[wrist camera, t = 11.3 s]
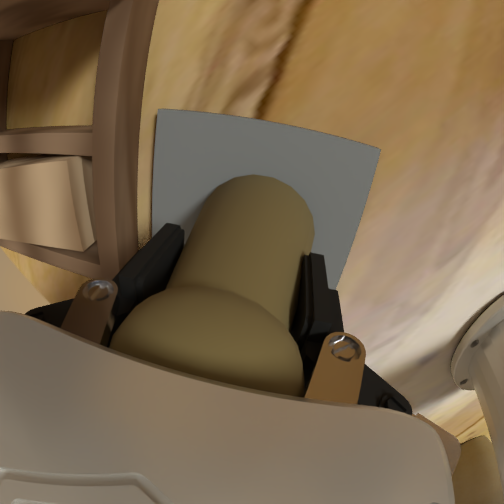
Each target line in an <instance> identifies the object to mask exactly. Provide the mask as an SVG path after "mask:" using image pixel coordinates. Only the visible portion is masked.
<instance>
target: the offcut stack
mask: <svg viewBox="0 0 504 504" xmlns="http://www.w3.org/2000/svg"><path fill="white" fill-rule="evenodd" d="M0 239H5V240H11V241H17V242H23V243H30V244H36V245H42V246H49V247H55V248H62V249H68V250H75V251H82V252H84V251H85V250H86V249H87V248H88V247H89V246H90V245H92V244H93V243H94V242H95V241H96V240H97V236H96V226H95V214H94V200H93V178H92V156H82V155H66V154H37V155H31V156H25V157H19V158H14V159H10V160H7V161H5V162H3V163H0Z"/></svg>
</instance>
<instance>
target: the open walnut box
mask: <svg viewBox="0 0 504 504" xmlns="http://www.w3.org/2000/svg"><path fill="white" fill-rule="evenodd" d="M158 2H159V0H0V163H3V162H5V161H7V153H43V154H66V155H82V156H92V178H93V200H94V214H95V226H96V236H97V240H96V241H95V242H94V243H93V244H92V245H90V246H89V247H88V248H87V249H86V250H85V251H84V252H82V251H75V250H68V249H62V248H55V247H49V246H42V245H36V244H30V243H23V242H17V241H11V240H5V239H0V246H2V247H4V248H7V249H10V250H12V251H15V252H17V253H20V254H23V255H25V256H28V257H31V258H33V259H36V260H39V261H42V262H45V263H47V264H50V265H53V266H56V267H59V268H62V269H65V270H68V271H71V272H74V273H77V274H80V275H83V276H86V277H89V278H93V279H94V278H107V279H110V280H112V279H113V278H114V277H115V276H116V275H117V274H118V272H119V271H120V270H121V269H122V268H123V267H124V266H125V265H126V263H127V262H128V261H129V260H130V259H131V258H132V257H133V256H134V255H135V254H136V252H137V251H138V229H137V171H138V147H139V131H140V118H141V107H142V97H143V88H144V80H145V72H146V65H147V59H148V52H149V46H150V40H151V35H152V30H153V25H154V20H155V15H156V10H157V6H158ZM104 10H108V11H107V16H106V20H105V25H104V30H103V35H102V41H101V47H100V53H99V60H98V68H97V76H96V85H95V96H94V110H93V126H49V127H31V128H18V129H8V130H6V105H7V87H8V75H9V66H10V59H11V52H12V45H13V40H14V39H17V38H19V37H21V36H24V35H26V34H29V33H31V32H34V31H36V30H39V29H42V28H44V27H47V26H50V25H53V24H56V23H59V22H62V21H65V20H69V19H72V18H76V17H79V16H83V15H87V14H91V13H95V12H100V11H104Z"/></svg>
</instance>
